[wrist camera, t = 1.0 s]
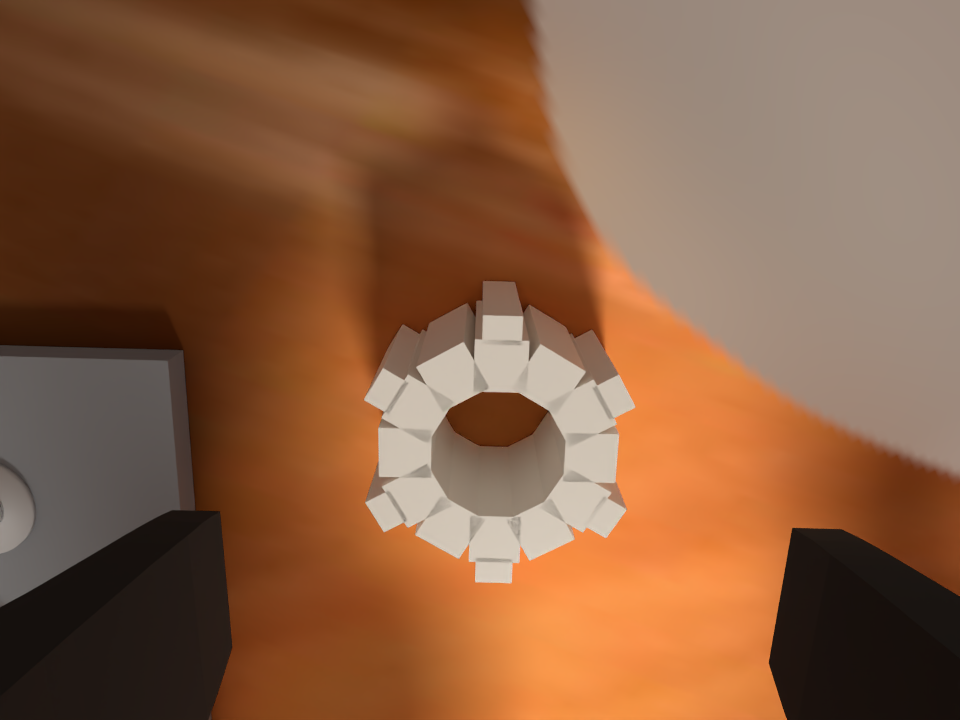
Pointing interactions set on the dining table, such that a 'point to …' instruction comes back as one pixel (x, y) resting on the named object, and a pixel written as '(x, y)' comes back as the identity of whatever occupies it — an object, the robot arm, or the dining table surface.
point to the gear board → (86, 453)
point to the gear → (489, 469)
